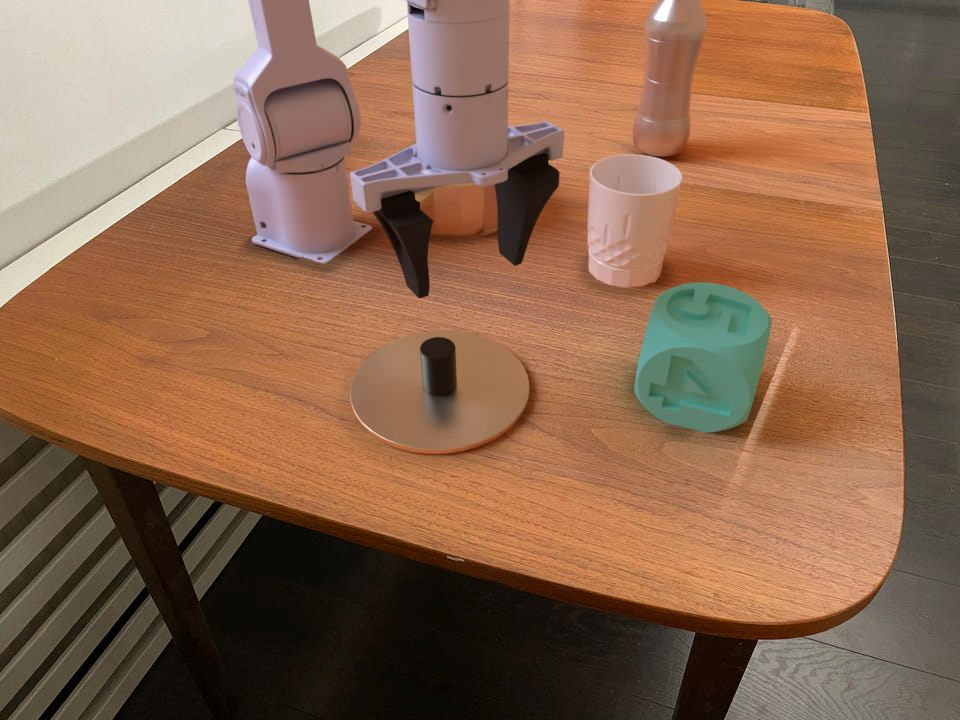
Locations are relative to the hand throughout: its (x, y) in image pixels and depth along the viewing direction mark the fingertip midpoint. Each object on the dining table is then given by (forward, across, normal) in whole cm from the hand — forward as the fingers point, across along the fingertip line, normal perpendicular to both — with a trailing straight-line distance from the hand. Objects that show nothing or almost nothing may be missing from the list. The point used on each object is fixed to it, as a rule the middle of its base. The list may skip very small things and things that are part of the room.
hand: (465, 273), depth 54 cm
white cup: (+10, +20, +6) cm, 23 cm away
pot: (+10, +13, +24) cm, 29 cm away
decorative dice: (+10, +13, -11) cm, 20 cm away
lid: (+9, -3, 0) cm, 10 cm away
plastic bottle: (+10, +41, +24) cm, 48 cm away
